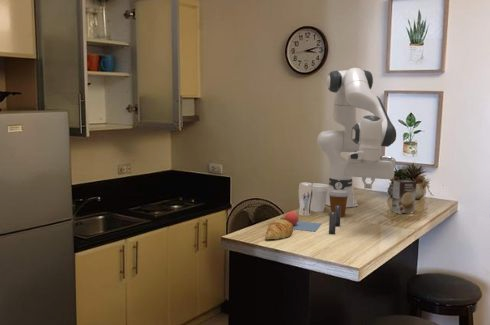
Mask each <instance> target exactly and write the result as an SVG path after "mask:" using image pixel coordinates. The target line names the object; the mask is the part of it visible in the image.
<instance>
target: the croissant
mask: <svg viewBox="0 0 490 325" xmlns="http://www.w3.org/2000/svg"><path fill="white" fill-rule="evenodd" d="M293 230H294V229H293V223H290V222H289V221H287V220H285V219H280V218H279V219H275V220H272V221H271V222H270V223H269V224H268V226H267V229H266V232H265V236H264V238H265V239H266V240H268V239H275V240H280V239H279V238H283V239H285V237H287V238H288V237H290V236H291V235H292V233H293Z"/></svg>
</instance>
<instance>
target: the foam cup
mask: <svg viewBox="0 0 490 325" xmlns="http://www.w3.org/2000/svg"><path fill="white" fill-rule="evenodd" d="M328 186H329V184H327V183H326V184H325V183H318V182H317V183H315V182H313V198H312V203H311V212H314V213H324V211H325V208H326V207H325V206H326V204H325V202H326V196H327V191H328Z"/></svg>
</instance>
